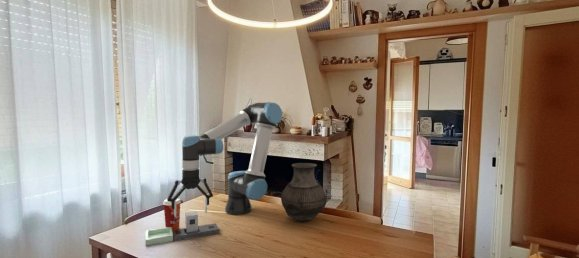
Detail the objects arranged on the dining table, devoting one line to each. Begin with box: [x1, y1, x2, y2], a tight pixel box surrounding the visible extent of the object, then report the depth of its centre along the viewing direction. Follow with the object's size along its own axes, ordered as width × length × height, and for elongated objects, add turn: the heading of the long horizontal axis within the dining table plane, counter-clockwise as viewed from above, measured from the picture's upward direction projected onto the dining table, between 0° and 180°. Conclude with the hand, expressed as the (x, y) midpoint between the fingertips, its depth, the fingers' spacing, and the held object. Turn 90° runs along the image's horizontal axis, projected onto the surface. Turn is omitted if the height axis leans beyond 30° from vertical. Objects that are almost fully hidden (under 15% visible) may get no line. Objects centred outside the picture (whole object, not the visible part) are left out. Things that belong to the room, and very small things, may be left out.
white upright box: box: [184, 211, 199, 234], centre depth 137 cm, size 5×5×10 cm
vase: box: [280, 162, 328, 222], centre depth 156 cm, size 25×25×30 cm
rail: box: [172, 222, 220, 242], centre depth 138 cm, size 20×8×2 cm, turn 116°
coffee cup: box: [162, 197, 182, 233], centre depth 142 cm, size 8×8×15 cm
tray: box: [145, 226, 174, 246], centre depth 133 cm, size 11×11×2 cm
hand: (190, 213), depth 136 cm, fingers open, 13 cm apart
